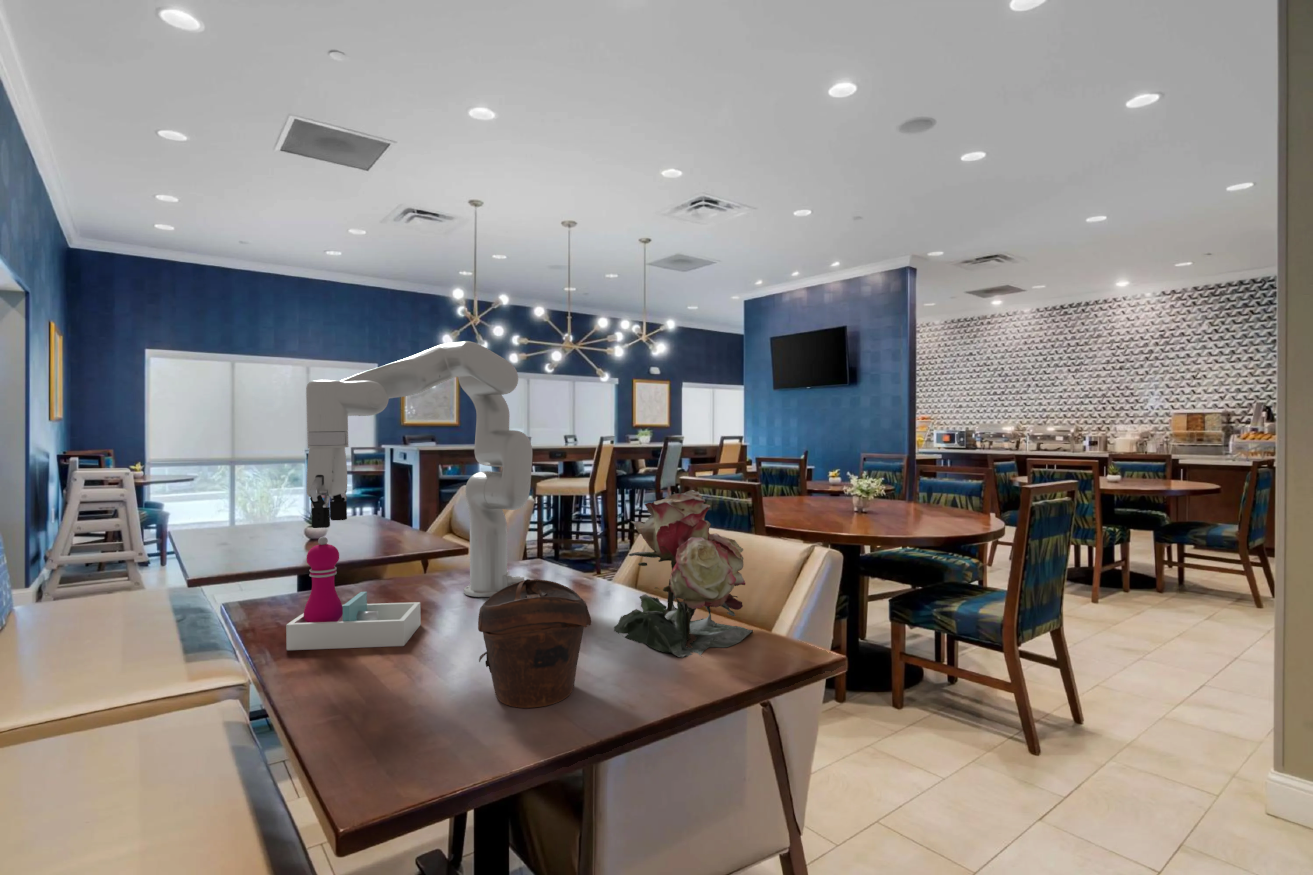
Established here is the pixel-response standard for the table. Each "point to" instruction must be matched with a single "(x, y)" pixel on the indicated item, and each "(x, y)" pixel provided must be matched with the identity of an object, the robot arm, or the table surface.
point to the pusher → (358, 609)
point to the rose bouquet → (686, 579)
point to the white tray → (357, 629)
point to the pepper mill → (323, 584)
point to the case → (533, 641)
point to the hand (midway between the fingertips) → (330, 523)
